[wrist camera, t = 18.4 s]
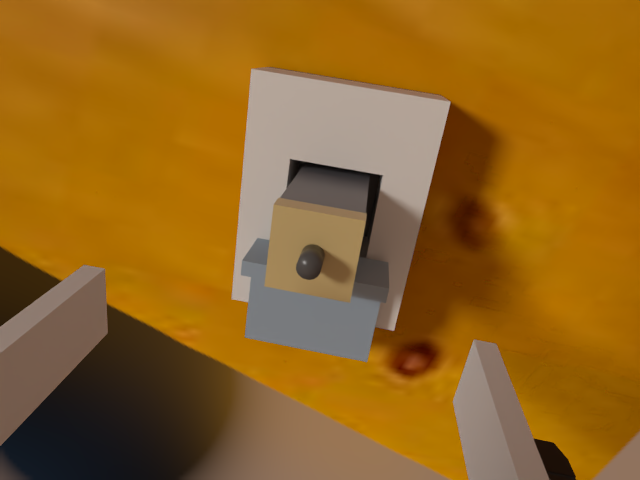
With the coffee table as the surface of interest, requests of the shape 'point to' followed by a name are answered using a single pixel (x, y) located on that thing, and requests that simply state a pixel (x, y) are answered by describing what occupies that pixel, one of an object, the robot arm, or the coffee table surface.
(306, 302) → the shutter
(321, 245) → the plug
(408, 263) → the socket
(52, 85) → the coffee table surface
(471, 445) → the robot arm
